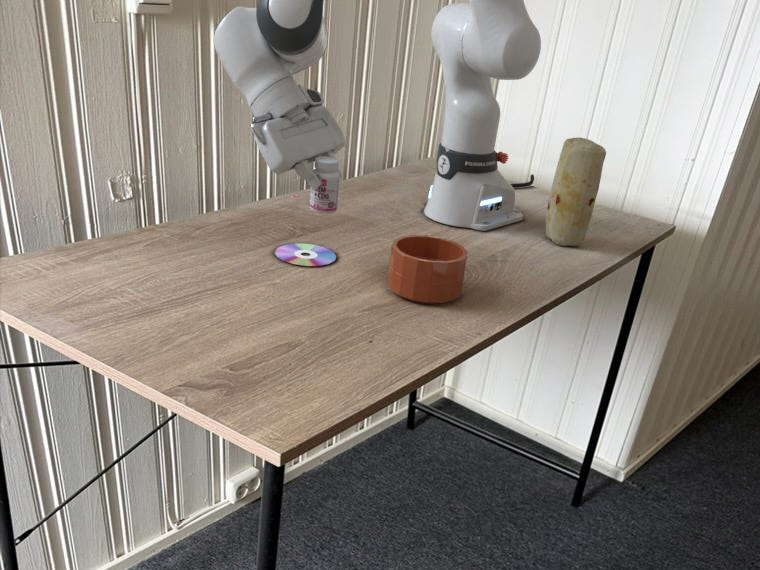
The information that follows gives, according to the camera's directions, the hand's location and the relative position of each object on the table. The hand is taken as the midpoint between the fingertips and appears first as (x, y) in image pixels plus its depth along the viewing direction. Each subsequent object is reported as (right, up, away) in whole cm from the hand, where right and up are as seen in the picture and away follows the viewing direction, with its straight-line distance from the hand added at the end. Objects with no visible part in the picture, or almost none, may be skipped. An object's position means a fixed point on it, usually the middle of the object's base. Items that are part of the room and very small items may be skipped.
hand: (328, 183), depth 142 cm
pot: (+16, -18, +2) cm, 24 cm away
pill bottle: (-1, -4, +3) cm, 5 cm away
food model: (+47, 0, +31) cm, 56 cm away
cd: (-5, -9, +9) cm, 14 cm away
